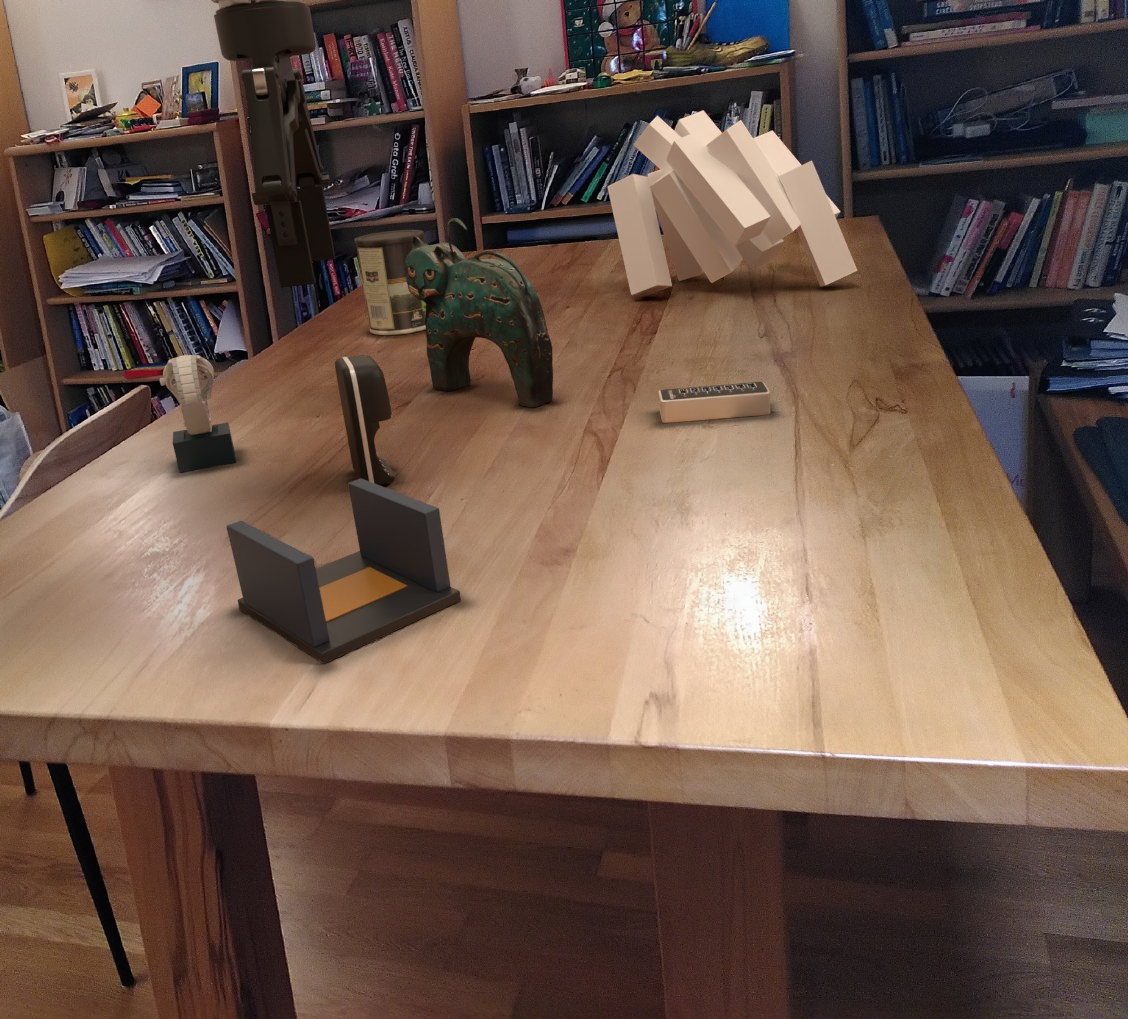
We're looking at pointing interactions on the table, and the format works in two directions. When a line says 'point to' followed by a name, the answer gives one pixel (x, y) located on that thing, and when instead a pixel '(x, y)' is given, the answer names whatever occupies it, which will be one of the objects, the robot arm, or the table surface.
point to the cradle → (348, 576)
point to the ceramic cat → (480, 317)
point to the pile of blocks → (721, 206)
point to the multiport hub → (714, 402)
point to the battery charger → (364, 414)
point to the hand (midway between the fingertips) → (310, 272)
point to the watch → (197, 415)
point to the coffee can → (389, 282)
